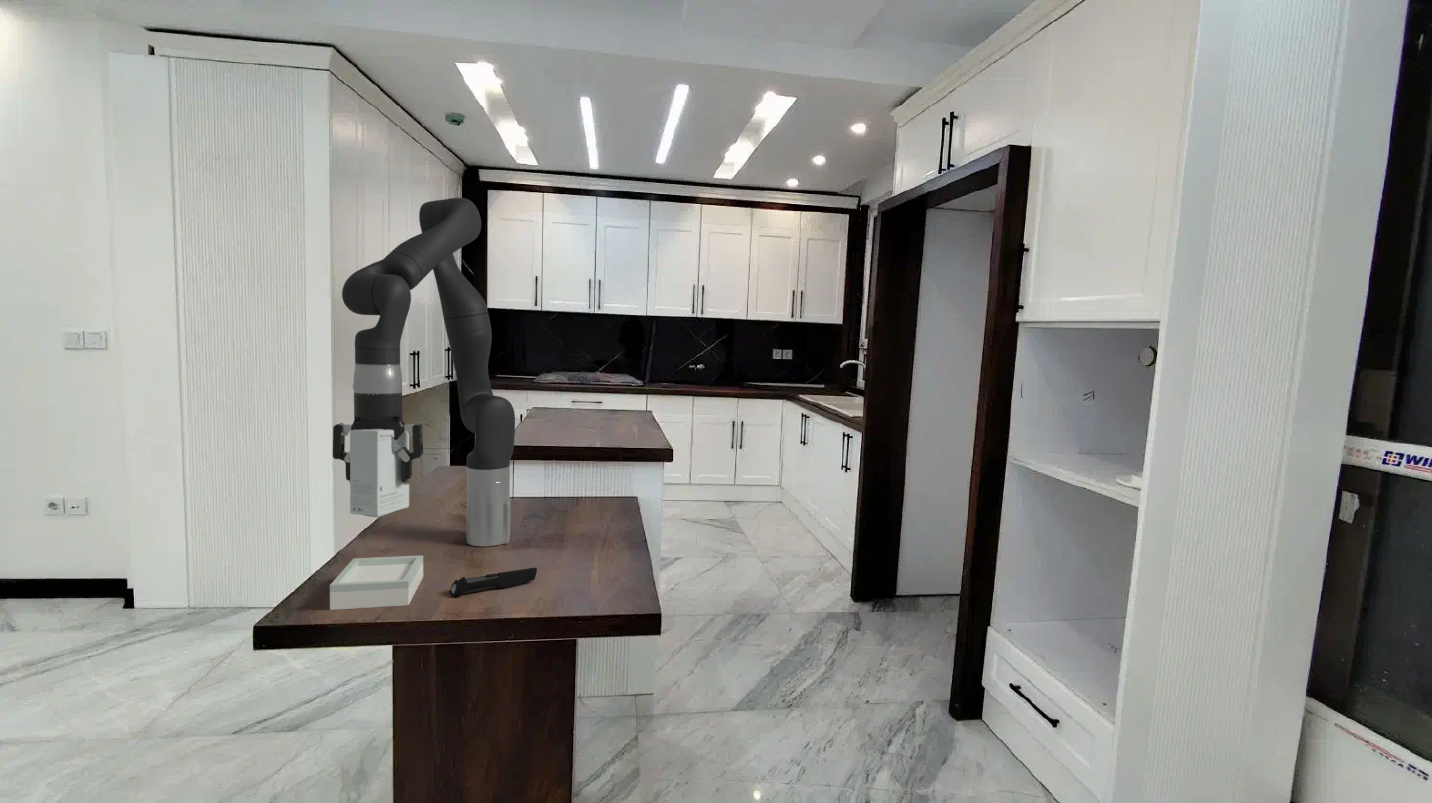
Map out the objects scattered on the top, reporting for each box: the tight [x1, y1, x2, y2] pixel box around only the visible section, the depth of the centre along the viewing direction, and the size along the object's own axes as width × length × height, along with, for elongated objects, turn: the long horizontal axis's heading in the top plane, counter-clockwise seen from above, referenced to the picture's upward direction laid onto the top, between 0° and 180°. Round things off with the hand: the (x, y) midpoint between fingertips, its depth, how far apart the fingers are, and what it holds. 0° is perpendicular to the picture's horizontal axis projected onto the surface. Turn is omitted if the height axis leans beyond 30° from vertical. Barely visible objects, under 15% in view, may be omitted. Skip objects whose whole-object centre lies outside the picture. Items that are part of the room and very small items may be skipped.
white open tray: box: [329, 554, 424, 611], centre depth 117 cm, size 12×14×4 cm
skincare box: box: [349, 429, 410, 518], centre depth 116 cm, size 8×6×15 cm
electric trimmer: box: [449, 567, 538, 599], centre depth 122 cm, size 4×16×3 cm, turn 124°
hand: (379, 482), depth 116 cm, fingers closed on skincare box, 8 cm apart
